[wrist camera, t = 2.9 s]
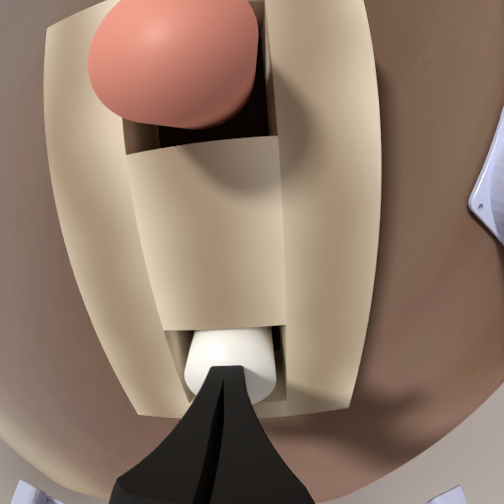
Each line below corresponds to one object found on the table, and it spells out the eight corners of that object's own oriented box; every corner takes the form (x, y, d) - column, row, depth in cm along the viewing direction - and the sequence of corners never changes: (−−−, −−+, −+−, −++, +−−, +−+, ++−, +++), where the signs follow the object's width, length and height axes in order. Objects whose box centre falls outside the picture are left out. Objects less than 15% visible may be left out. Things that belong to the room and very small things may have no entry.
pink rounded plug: (250, 27, 8) (250, -35, 4) (258, 123, 10) (265, 112, 5) (146, 43, 8) (91, 1, 4) (152, 137, 10) (91, 140, 5)
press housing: (330, 13, 9) (357, -23, 6) (333, 360, 17) (348, 407, 13) (91, 46, 10) (47, 28, 6) (153, 369, 17) (138, 414, 14)
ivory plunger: (268, 288, 15) (274, 345, 11) (271, 345, 16) (277, 404, 12) (192, 292, 15) (174, 349, 11) (205, 349, 16) (194, 407, 12)
